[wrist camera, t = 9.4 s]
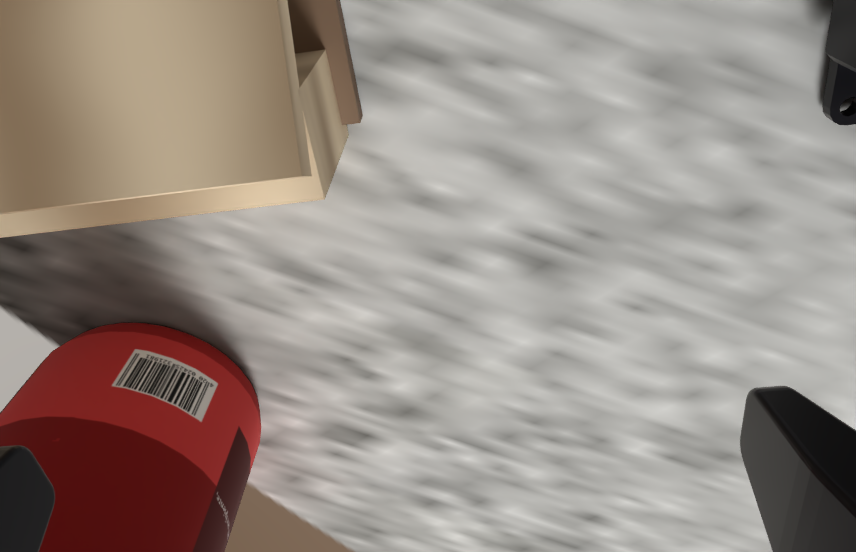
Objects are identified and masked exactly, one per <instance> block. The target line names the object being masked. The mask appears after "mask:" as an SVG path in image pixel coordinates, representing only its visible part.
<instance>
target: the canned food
mask: <svg viewBox="0 0 856 552" xmlns="http://www.w3.org/2000/svg"><path fill="white" fill-rule="evenodd" d="M260 434H261V420H260V409H259V404H258V399H257V396H256V393H255V391H254V389H253V387H252V385H251V383H250V381H249V380H248V379H247V377H246V376H245V375H244V373H243V372H242V371H241V369H240V368H239V367H238V366H237V365H236V364H235V363H234V362H233V361H231V360H230V359H229V358H228V357H227V356H226V355H225V354H223V353H222V352H220V351H219V350H217V349H216V348H214V347H213V346H211V345H210V344H208V343H207V342H204V341H202V340H200V339H198V338H196V337H194V336H192V335H190V334H188V333H184V332H181V331H178V330H175V329H172V328H168V327H164V326H158V325H152V324H146V323H117V324H111V325H104V326H100V327H97V328H94V329H91V330H88V331H86V332H84V333H82V334H80V335H78V336H77V337H75V338H73V339H71V340H70V341H68V342H66V343H65V344H63V345H62V346H60V347H58V348H57V349H55V350H53V351H52V352H51V353H50V354H49V356H48V357H47V358H46V359H45V360H44V361H43V362H42V363H41V364H40V365H39V367H38V368H37V369H36V370H35V372H34V373H33V374H32V375H31V376H30V378H29V379H28V380H27V381H26V382H25V384H24V385H23V386H22V387H21V388H20V390H19V391H18V392H17V393H16V394H15V396H14V397H13V398H12V399H11V401H10V402H9V403H8V404H7V405H6V406H5V408H4V409H3V410H2V411H1V412H0V447H1V446H14V445H21V446H25V447H26V448H28V449H29V450H30V451H31V452H32V453H33V455H34V457H35V458H36V460H37V461H38V463H39V464H40V466H41V468H42V469H43V471H44V472H45V474H46V475H47V477H48V479H49V480H50V482H51V483H52V485H53V487H54V491H55V504H54V508H53V511H52V514H51V517H50V520H49V523H48V526H47V529H46V532H45V535H44V538H43V541H42V544H41V547H40V550H39V552H224V551H225V548H226V545H227V542H228V539H229V536H230V533H231V530H232V527H233V523H234V520H235V517H236V514H237V511H238V508H239V505H240V501H241V499H242V495H243V492H244V489H245V486H246V483H247V480H248V477H249V474H250V471H251V468H252V465H253V461H254V458H255V455H256V452H257V449H258V446H259V443H260Z"/></svg>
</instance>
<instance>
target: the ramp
mask: <svg viewBox="0 0 856 552" xmlns="http://www.w3.org/2000/svg"><path fill="white" fill-rule="evenodd" d="M348 135H349V134H348V130H347V125H342V123H341V118H340V114H339V109H338V104H337V100H336V95H335V91H334V86H333V81H332V77H331V72H330V67H329V63H328V58H327V54H326V49H325V50H318V51H311V52H304V53H297V54H295V52H294V45H293V37H292V30H291V23H290V16H289V9H288V1H287V0H0V238H3V237H12V236H20V235H29V234H37V233H45V232H54V231H62V230H71V229H79V228H87V227H96V226H104V225H113V224H121V223H130V222H138V221H146V220H155V219H163V218H172V217H180V216H189V215H197V214H205V213H214V212H222V211H231V210H239V209H247V208H256V207H264V206H273V205H281V204H290V203H298V202H306V201H315V200H323V199H325V197H326V194H327V192H328V189H329V186H330V184H331V181H332V178H333V176H334V173H335V170H336V168H337V165H338V162H339V160H340V157H341V154H342V151H343V149H344V146H345V143H346V141H347V138H348Z"/></svg>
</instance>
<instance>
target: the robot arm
mask: <svg viewBox="0 0 856 552" xmlns="http://www.w3.org/2000/svg"><path fill="white" fill-rule="evenodd" d="M826 54H827V55H828V56H829V57H830V58H831V59H830V65H829V71H828V76H827V82H826V88H825V94H824V99H823V112H824V114H825V116H826V117H827V118H829V119H830V120H832V121H833V122H835V123H837V124H839V125H852V124H856V0H834V2H833V8H832V14H831V20H830V26H829V32H828V38H827V43H826ZM850 97H852V98H853V101H852V103H851V105H850V106H849V107H848V108H847V109H846V110H844V111H841V112H840V106H841V104H842V102H844V101H845V100H846V99H848V98H850ZM740 447H741V454H742V458H743V461H744V465H745V468H746V471H747V474H748V477H749V480H750V483H751V486H752V489H753V492H754V495H755V498H756V501H757V504H758V508H759V511H760V514H761V517H762V520H763V523H764V526H765V529H766V532H767V535H768V538H769V541H770V544H771V547H772V551H773V552H856V430H855V429H853V428H851V427H850V426H848V425H847V424H845V423H844V422H842V421H841V420H839V419H838V418H836V417H835V416H833V415H832V414H830V413H829V412H827V411H826V410H824V409H823V408H821V407H820V406H818V405H817V404H815V403H814V402H812V401H811V400H809V399H808V398H806V397H805V396H803V395H802V394H800V393H798V392H797V391H795V390H794V389H792V388H790V387H787V386H774V387H761V388H754V389H752V390H751V391H750V392H749V393H748V395H747V399H746V404H745V411H744V417H743V424H742V430H741V436H740ZM54 504H55V491H54V487H53V485H52V483H51V482H50V480H49V479H48V477H47V475H46V474H45V472H44V471H43V469H42V468H41V466H40V464H39V463H38V461H37V460H36V458H35V457H34V455H33V453H32V452H31V451H30V450H29V449H28V448H26V447H25V446H21V445H14V446H1V447H0V552H39V550H40V547H41V544H42V541H43V538H44V535H45V532H46V529H47V526H48V523H49V520H50V517H51V514H52V511H53V508H54Z"/></svg>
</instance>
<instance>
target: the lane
mask: <svg viewBox="0 0 856 552" xmlns="http://www.w3.org/2000/svg"><path fill="white" fill-rule="evenodd" d="M287 1H288V9H289V16H290V23H291V30H292V37H293V45H294V52H295V54H297V53H304V52H311V51H318V50H325V49H326V54H327V58H328V63H329V67H330V72H331V77H332V81H333V86H334V91H335V95H336V100H337V104H338V109H339V114H340V118H341V123H342V125H347V124H354V123H360V122H361V119H362V116H363V115H362V110H361V105H360V100H359V95H358V90H357V84H356V79H355V74H354V69H353V64H352V59H351V54H350V49H349V44H348V39H347V34H346V29H345V24H344V19H343V14H342V9H341V4H340V0H287Z"/></svg>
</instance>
